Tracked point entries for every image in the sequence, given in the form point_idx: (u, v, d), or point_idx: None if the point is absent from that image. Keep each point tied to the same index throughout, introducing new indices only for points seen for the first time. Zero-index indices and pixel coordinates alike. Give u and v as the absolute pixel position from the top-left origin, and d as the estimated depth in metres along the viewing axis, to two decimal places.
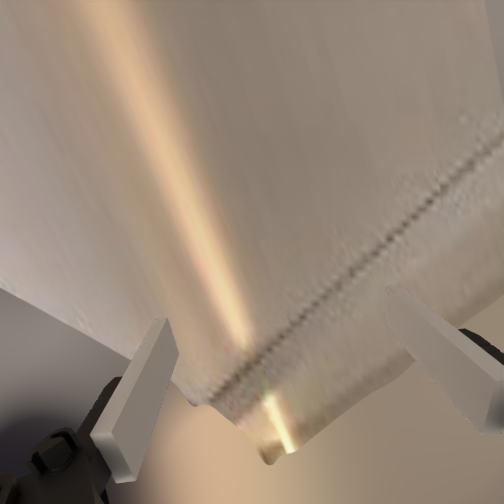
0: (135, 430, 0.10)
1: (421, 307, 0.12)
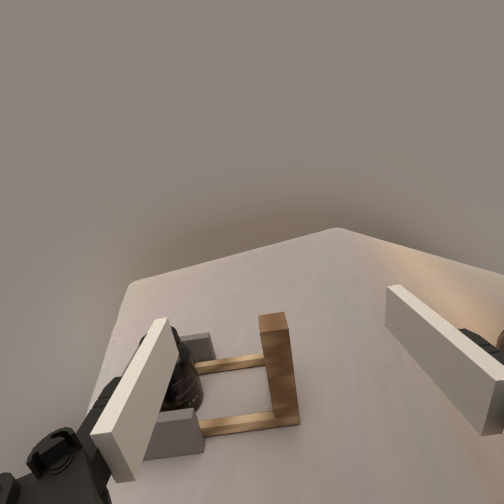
0: (135, 430, 0.10)
1: (421, 307, 0.12)
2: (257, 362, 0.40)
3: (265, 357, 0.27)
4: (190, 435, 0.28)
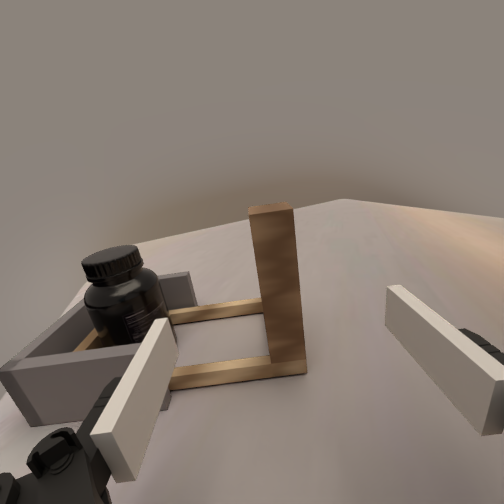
0: (135, 430, 0.10)
1: (421, 307, 0.12)
2: (250, 308, 0.31)
3: (257, 260, 0.18)
4: None
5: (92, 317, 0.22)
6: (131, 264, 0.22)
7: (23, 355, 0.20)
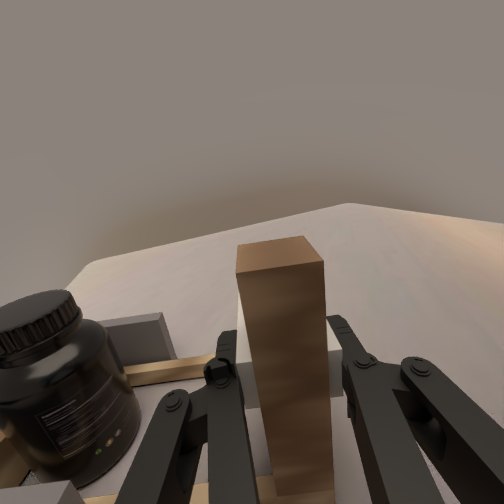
0: None
1: None
2: None
3: (253, 350, 0.09)
4: None
5: None
6: (54, 328, 0.14)
7: None
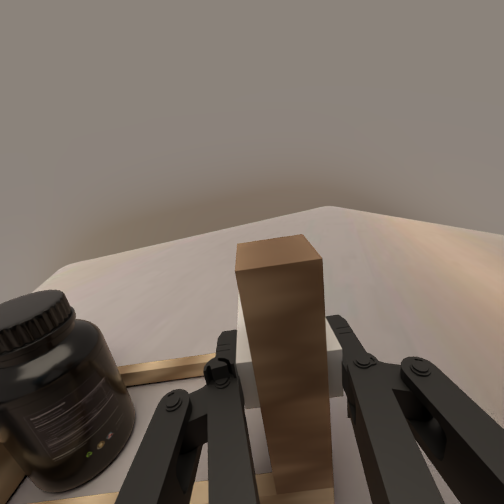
0: None
1: None
2: None
3: (253, 348, 0.10)
4: None
5: None
6: (44, 330, 0.14)
7: None
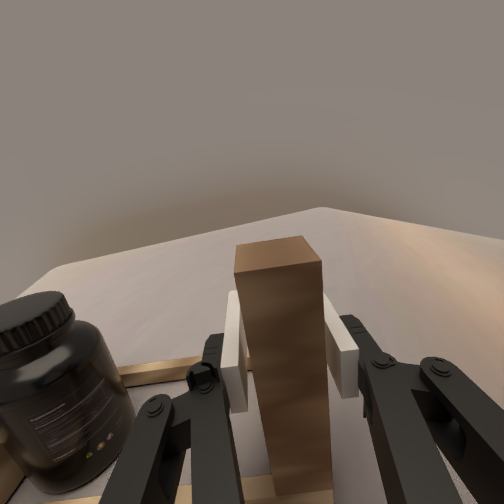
0: (243, 372, 0.12)
1: None
2: None
3: (252, 350, 0.09)
4: None
5: None
6: (44, 331, 0.14)
7: None
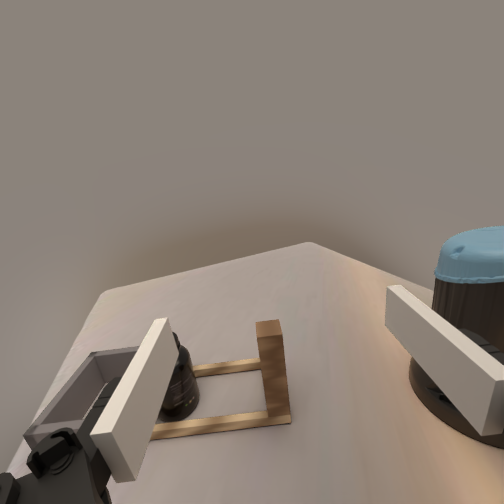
0: (135, 430, 0.10)
1: (421, 307, 0.12)
2: (252, 366, 0.43)
3: (261, 360, 0.30)
4: None
5: None
6: None
7: (39, 422, 0.32)
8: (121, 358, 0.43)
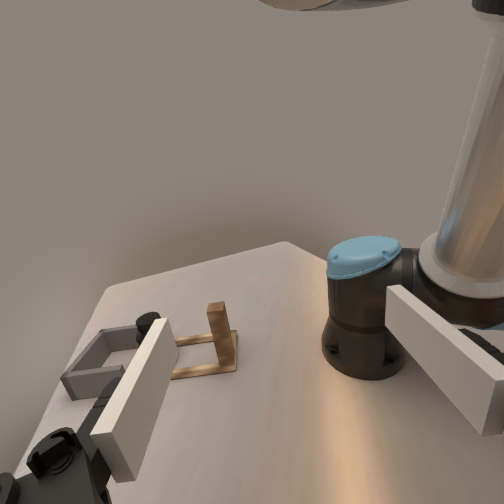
0: (135, 430, 0.10)
1: (421, 307, 0.12)
2: None
3: (211, 327, 0.46)
4: None
5: None
6: None
7: (69, 370, 0.48)
8: (122, 333, 0.59)
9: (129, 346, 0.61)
